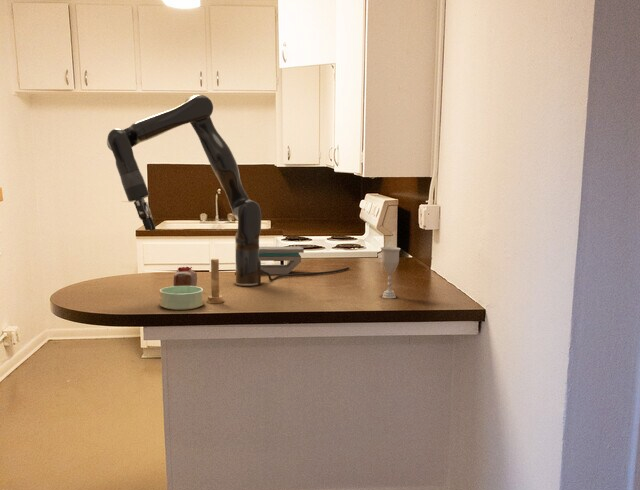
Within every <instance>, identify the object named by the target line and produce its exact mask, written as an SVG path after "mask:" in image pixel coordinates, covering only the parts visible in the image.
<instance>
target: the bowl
mask: <svg viewBox="0 0 640 490" xmlns="http://www.w3.org/2000/svg"><path fill="white" fill-rule="evenodd" d="M204 301H205V300H204V289H203V287H200V286H197V285H196V286H174V285H172V286H171V285H170V286H166V287H162V288H160V289H159V305H160V307H162V308H164V309H167V310H174V311H186V310H193V309H197V308H199V307H202V306H203V305H204Z"/></svg>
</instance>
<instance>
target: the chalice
mask: <svg viewBox="0 0 640 490" xmlns="http://www.w3.org/2000/svg"><path fill="white" fill-rule="evenodd" d="M380 250H381V264H382V267H383V269H384V272H385V273H386V274H387V275H388V276H387V283H386V285H387V288H386V289H385V290H384V291H383V294H382V296H381V298H384V299H396V294H395V291H394V290H392V279H393V278H392V274H394V273H395V271H396V269H397V267H398V265H399V262H400V251H401V248H400V247H395V246H383V247H380Z"/></svg>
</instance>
